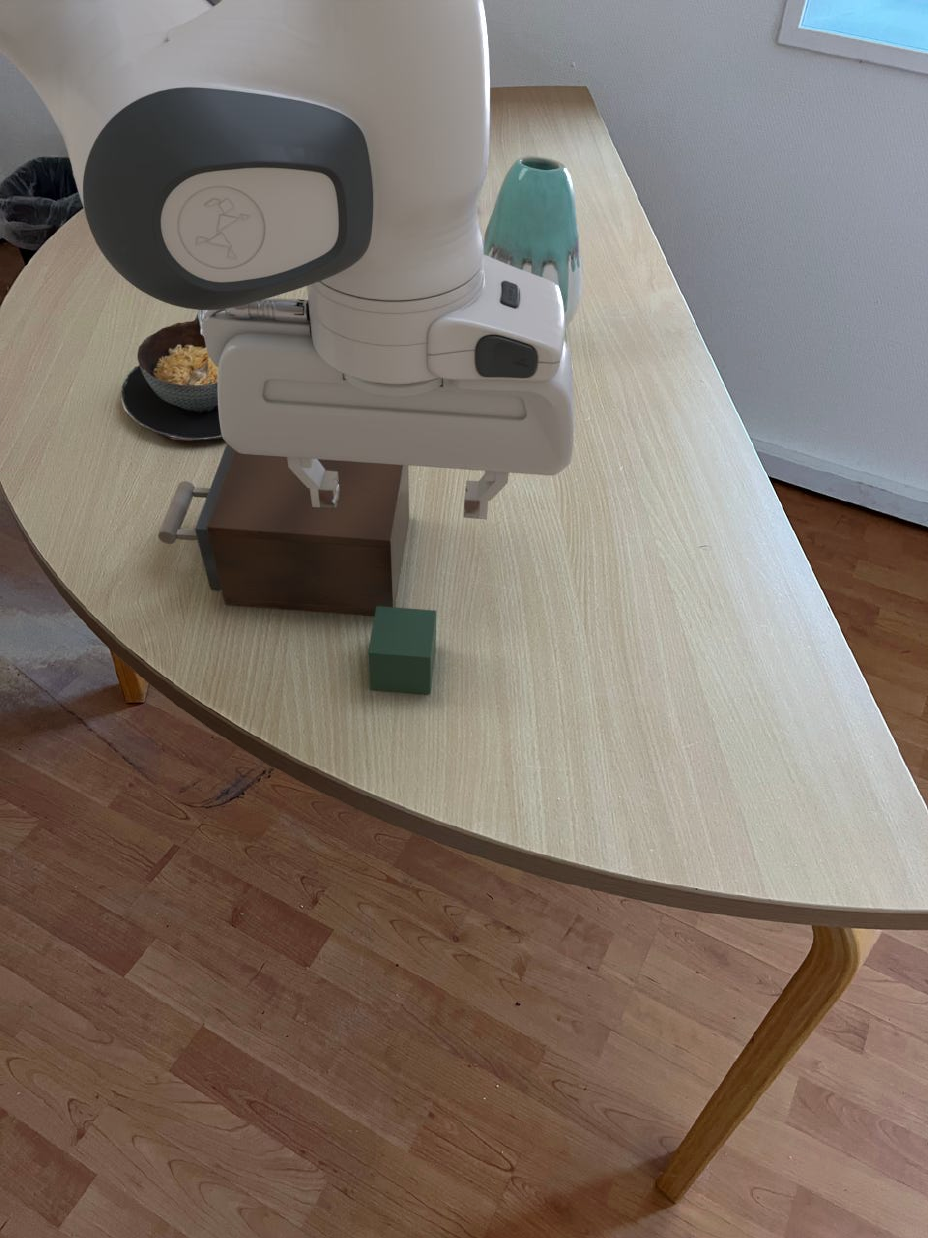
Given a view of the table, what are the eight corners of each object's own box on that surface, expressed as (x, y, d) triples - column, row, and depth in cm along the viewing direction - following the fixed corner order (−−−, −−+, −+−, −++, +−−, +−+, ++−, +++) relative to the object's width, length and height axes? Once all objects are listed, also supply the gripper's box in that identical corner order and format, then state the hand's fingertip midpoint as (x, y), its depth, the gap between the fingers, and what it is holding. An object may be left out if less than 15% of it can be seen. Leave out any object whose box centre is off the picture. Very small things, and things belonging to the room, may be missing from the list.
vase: (527, 288, 108) (543, 125, 94) (598, 332, 102) (625, 166, 88) (450, 320, 103) (454, 153, 89) (519, 369, 97) (535, 198, 83)
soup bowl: (92, 420, 89) (70, 353, 83) (191, 337, 99) (177, 272, 93) (224, 465, 85) (210, 398, 80) (312, 375, 95) (306, 309, 89)
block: (370, 690, 69) (367, 652, 66) (378, 643, 72) (376, 605, 69) (430, 694, 69) (430, 657, 66) (435, 648, 72) (436, 610, 69)
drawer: (159, 586, 74) (139, 524, 69) (193, 499, 81) (177, 437, 76) (365, 602, 74) (361, 541, 69) (382, 513, 81) (379, 452, 75)
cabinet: (224, 604, 74) (206, 527, 68) (256, 507, 82) (241, 428, 75) (393, 617, 74) (390, 540, 68) (409, 518, 82) (408, 440, 75)
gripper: (178, 327, 46) (225, 529, 56) (592, 355, 45) (560, 554, 56) (210, 263, 50) (248, 462, 60) (589, 288, 49) (561, 484, 60)
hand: (401, 506), depth 58 cm, fingers open, 8 cm apart
